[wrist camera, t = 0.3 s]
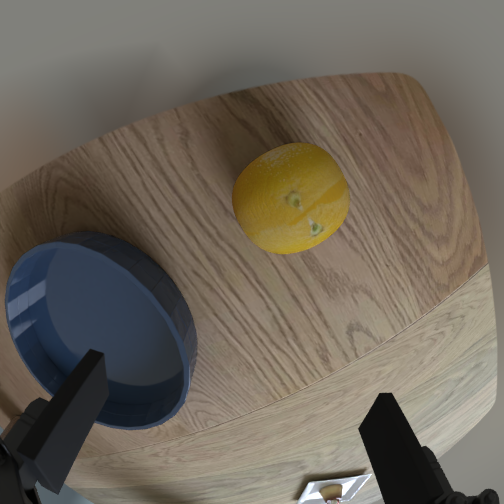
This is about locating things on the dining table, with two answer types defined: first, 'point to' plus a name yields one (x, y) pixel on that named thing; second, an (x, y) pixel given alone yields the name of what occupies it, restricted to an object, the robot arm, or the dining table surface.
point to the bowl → (104, 324)
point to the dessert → (332, 490)
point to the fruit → (291, 198)
